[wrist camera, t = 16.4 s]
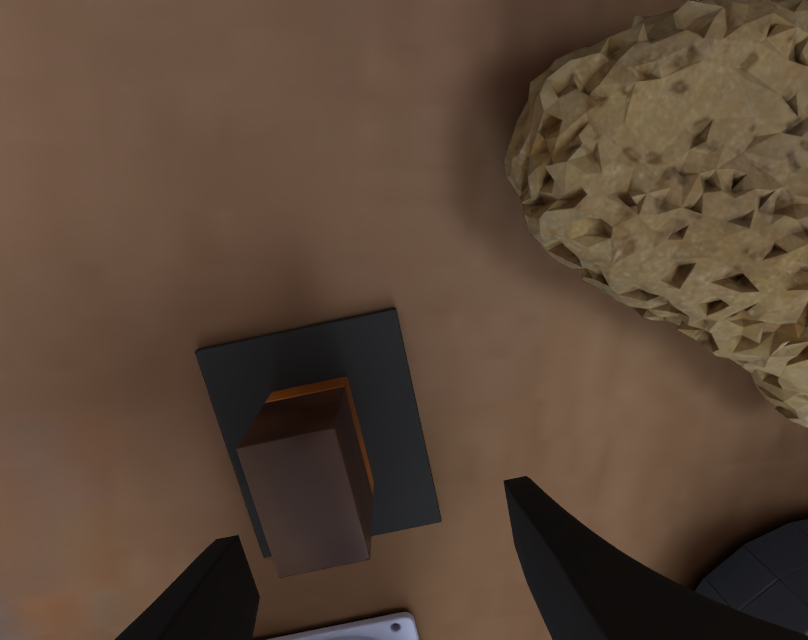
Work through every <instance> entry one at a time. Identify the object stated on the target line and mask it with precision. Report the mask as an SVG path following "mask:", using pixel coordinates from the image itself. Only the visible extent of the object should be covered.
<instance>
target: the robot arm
mask: <svg viewBox="0 0 808 640" xmlns="http://www.w3.org/2000/svg"><path fill="white" fill-rule="evenodd" d="M504 486H505V492H506V498H507V504H508V510H509V515H510V521H511V527H512V533H513V539H514V545H515V548H516V551H517V554H518V557H519V560H520V563H521V566H522V569H523V572H524V575H525V578H526V581H527V584H528V586H529V588H530V591H531V593H532V595H533V597H534V600H535V602H536V604H537V606H538V608H539V611H540V613H541V615H542V617H543V619H544V622H545V624H546V626H547V628H548V630H549V633H550V635H551V637H552V639H553V640H808V635H805V634H802V633H799V632H796V631H793V630H790V629H788V628H785V627H782V626H779V625H776V624H773V623H770V622H768V621H765V620H762V619H759V618H756V617H753V616H751V615H748V614H746V613H743V612H741V611H739V610H736V609H734V608H731V607H729V606H726V605H724V604H722V603H719V602H717V601H714V600H712V599H710V598H708V597H706V596H703V595H701V594H699V593H697V592H695V591H692V590H690V589H688V588H686V587H684V586H682V585H680V584H678V583H676V582H674V581H672V580H670V579H668V578H666V577H664V576H663V575H661V574H659V573H657V572H655V571H653V570H651V569H650V568H648V567H646V566H644V565H643V564H641V563H639V562H638V561H636V560H634V559H633V558H631V557H629V556H628V555H626V554H625V553H623V552H621V551H620V550H618V549H617V548H615V547H614V546H612V545H611V544H609V543H608V542H607V541H605V540H604V539H602V538H601V537H600V536H598V535H597V534H595V533H594V532H593V531H591V530H590V529H589V528H587V527H586V526H585V525H583V524H582V523H581V522H580V521H578V520H577V519H576V518H575V517H573V516H572V515H571V514H570V513H568V512H567V511H566V510H565V509H563V508H562V507H561V506H560V505H559V504H557V503H556V502H555V501H554V500H553V499H552V498H551V497H549V496H548V495H547V494H546V493H545V492H544V491H543V490H542V489H541V488H540V487H539V486H537V485H536V484H535V483H534V482H533V481H532V480H531V479H530V478H528V477H527V476H524V477H519V478H514V479H509V480H504ZM259 598H260V596H259V593H258V590H257V587H256V584H255V582H254V579H253V576H252V573H251V570H250V567H249V564H248V561H247V559H246V556H245V553H244V550H243V547H242V544H241V541H240V538H239V535H235V536H231V537H226V538H221V539H216V540H215V541H214V542H213V543H212V544H211V545H209V546H208V547H207V548H206V549H205V550H204V551H203V552H202V553H201V554H200V555H199V556H198V557H197V558H196V559H195V560H194V561H193V562H192V563H191V564H190V565H189V566H188V567H187V569H186V570H185V571H184V572H183V573H182V574H181V575H180V576H179V577H178V578H177V579H176V580H175V581H174V582H173V583H172V584H171V585H170V586H169V587H168V588H167V589H166V590H165V591H164V592H163V593H162V594H161V595H160V596H159V597H158V598H157V599H156V600H155V601H154V602H153V603H152V604H151V605H150V606H149V607H148V608H147V609H146V610H145V611H144V612H143V613H142V614H141V615H140V616H139V617H138V618H137V619H136V620H135V621H133V622H132V623H131V624H130V625H129V626H128V627H127V628H126V629H125V630H124V631H123V632H122V633H121V634H120V635H119V636H118V637H117V638H116V639H115V640H252V637H253V632H254V627H255V622H256V616H257V610H258V604H259ZM394 623H397V625H393V624H394ZM266 640H419V637H418V633H417V629H416V625H415V621H414V617H413V615H412V614H410V613H408V612H400V613H395V614H390V615H385V616H380V617H375V618H370V619H365V620H361V621H356V622H351V623H346V624H341V625H336V626H331V627H326V628H321V629H316V630H311V631H306V632H301V633H296V634H291V635H286V636H281V637H276V638H271V639H266Z"/></svg>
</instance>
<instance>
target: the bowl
mask: <svg viewBox="0 0 808 640" xmlns="http://www.w3.org/2000/svg"><path fill="white" fill-rule="evenodd" d="M695 592H697V593H699V594H701V595H703V596H706V597H708V598H710V599H712V600H714V601H717V602H719V603H722V604H724V605H726V606H729V607H731V608H734V609H736V610H739V611H741V612H743V613H746V614H748V615H751V616H753V617H756V618H759V619H762V620H765V621H768V622H770V623H773V624H776V625H779V626H782V627H785V628H788V629H790V630H793V631H796V632H799V633H802V634H805V635H808V519H805V520H800V521H795V522H791V523H788V524H786V525H784V526H781V527H779V528H777V529H775V530H773V531H771V532H769V533H767V534H765V535H763V536H760V537H758V538H756V539H754V540H752V541H750V542H748V543H746V544H744V546H742V547H741V548H739V549H738V550H737V551H736V552H734V553H733V554H732V555H731V556H729V557H728V558H727V559H725V560H724V561H723V562H721V563H720V564H719V565H718V566H717V567H716V568H715V569H714V570H713V571H711V572H710V573H709V574H708V575H707V576H706V578H705V577H704V578H703V580H702V581H701V582H700V584H699V585H698V587H697V588H696V589H695Z"/></svg>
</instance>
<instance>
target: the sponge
mask: <svg viewBox="0 0 808 640" xmlns="http://www.w3.org/2000/svg"><path fill="white" fill-rule="evenodd" d="M504 164H505V170H506V176H507V178H508V180H509V181H510V183H511V184H512V186H513V187H514V189H515V190H516V192H517V194H518V195H519V197H520V198H521V200H522V201H521V203H523V212H524V216H525V218H526V221H527V223H528V225H527V228H528V230H529V231H530V233H531V234H532V236H533V237H534V238H535V239H536V240H537V241H538V242H539V243H540V244H541V246H542V247H543V248H544V249H545V251H546V252H547V253H548V254H549V255H550V256H551V257H553V258H554V259H555V260H557V261H558V262H560V263H561V264H563V265H565V266H567V267H569V268H572V269H579V268H582V272H583V274H582V277H581V280H583V281H585V282H587V283H589V284H591V285H593V286H595V287H597V288H598V289H600V290H602V291H604V292H605V293H607V294H608V295H609V296H611V297H612V298H613V299H615V300H617V301H619V302H621V303H623V304H625V305H627V306H629V307H632V308H633V309H634V310H635V311H637V312H638V313H639V314H640V315H641V316H642V317H643V318H646V319H649V320H658V321H664V320H666V321H669V322H671V323H674V324H676V325H679V327H678V328H677V329H676V330H678V331H680V332H682V333H684V334H686V335H687V336H689V337H691V338H693V339H695V340H696V341H698V342H699V343H700V344H702V345H703V346H704V347H705V348H707V349H708V350H709V351H710V352H711V353H713V354H714V355H715V356H717V357H723V358H729V359H730V360H732V361H733V362H734V363H735V364H737V365H739V366H740V367H742V368H744V369H746V370H747V371H749V372H750V374H751V376H752V379H753V381H754V383H755V385H756V387H757V388H758V390H759V391H760V393H761V394H762V396H763V397H764V398H765V399H766V400H767V401H769V402H770V403H772V404H773V405H776V406H778V407H776V408H775V409H776V410H778V411H779V412H780V413H781V414H783V415H784V416H785V417H786V418H788V419H789V420H791V421H792V422H794V423H797V424H799V425H801V426H804V427H806V428H808V1H806V0H787V1H774V0H701V1H698V2H694V1H687V2H686V3H685V4H683V5H682V6H681V7H680V8H678V9H675V10H672V11H669V12H666V13H663V14H660V15H656V16H650V17H640V16H635V17H634V20H633V23H632V26H631V28H630V29H627V30H625V31H622V32H620V33H617V34H615V35H612V36H609V37H607V38H605V39H604V40H602V41H600V42H598V43H596V44H594V45H593V46H586V47H583V48H581V49H578V50H576V51H574V52H571V53H569V54H566V55H564V56H562V57H561V58H559V59H557V60H555V61H554V62H553V64H552V65H551V66H550V67H549V69H548V70H546V71H545V72H543V73H542V74H541V75H539V76H538V77H537V78H535V79H534V80H533V81H531V82H530V88H529V99H528V101H527V103H526V105H525V107H524V109H523V111H522V113H521V114H520V116H519V118H518V120H517V123H516V126H515V129H514V132H513V135H512V138H511V141H510V143H509V146H508V149H507V152H506V155H505V157H504Z"/></svg>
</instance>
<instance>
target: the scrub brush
mask: <svg viewBox="0 0 808 640" xmlns="http://www.w3.org/2000/svg"><path fill="white" fill-rule="evenodd" d="M237 452H238V455H239V459H240V462H241V465H242V468H243V471H244V474H245V477H246V480H247V483H248V486H249V489H250V492H251V495H252V498H253V501H254V504H255V507H256V510H257V513H258V516H259V519H260V522H261V525H262V528H263V531H264V534H265V537H266V540H267V543H268V546H269V549H270V552H271V555H272V558H273V561H274V564H275V567H276V570H277V573H278V576H279V578H282V577H287V576H292V575H297V574H302V573H307V572H311V571H316V570H321V569H326V568H331V567H336V566H341V565H346V564H351V563H356V562H360V561H365V560H369V559H370V555H371V532H372V509H373V485H374V480H373V476H372V472H371V468H370V464H369V461H368V457H367V453H366V449H365V445H364V441H363V437H362V433H361V429H360V425H359V421H358V417H357V413H356V409H355V405H354V401H353V397H352V393H351V389H350V385H349V381H348V378H347V377H341V378H336V379H331V380H326V381H322V382H317V383H312V384H307V385H302V386H298V387H293V388H288V389H283V390H278V391H274V392H271V394H270V395H269V397H268V399H267V400H266V402H265V403H264V405H263V407H262V408H261V410H260V411H259V413H258V415H257V416H256V418H255V419H254V421H253V423H252V424H251V426H250V428H249V429H248V431H247V432H246V434H245V436H244V437H243V439H242V440H241V442H240V444H239V445H238V447H237Z"/></svg>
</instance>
